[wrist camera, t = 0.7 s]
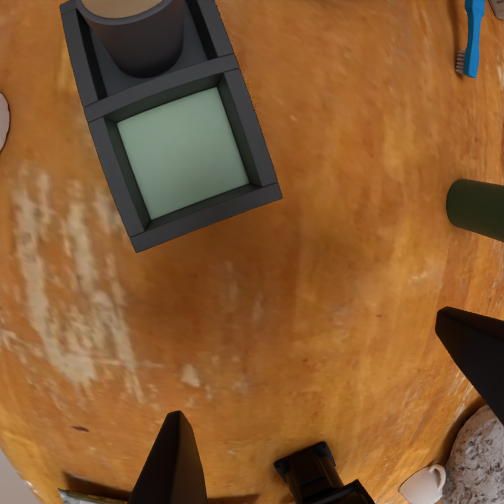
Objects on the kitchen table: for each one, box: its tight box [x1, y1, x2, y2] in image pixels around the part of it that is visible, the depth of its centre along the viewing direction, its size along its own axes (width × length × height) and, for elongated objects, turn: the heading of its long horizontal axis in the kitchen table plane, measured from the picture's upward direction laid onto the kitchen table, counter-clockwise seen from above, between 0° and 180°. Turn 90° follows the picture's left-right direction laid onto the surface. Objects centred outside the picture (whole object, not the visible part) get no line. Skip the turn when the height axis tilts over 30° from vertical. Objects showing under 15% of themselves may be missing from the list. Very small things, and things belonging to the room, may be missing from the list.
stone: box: [441, 405, 504, 504], centre depth 34 cm, size 23×23×15 cm
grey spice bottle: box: [75, 0, 184, 78], centre depth 12 cm, size 5×5×11 cm
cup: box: [399, 464, 446, 504], centre depth 38 cm, size 8×10×7 cm
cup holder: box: [60, 0, 283, 253], centre depth 17 cm, size 17×9×4 cm, turn 18°
